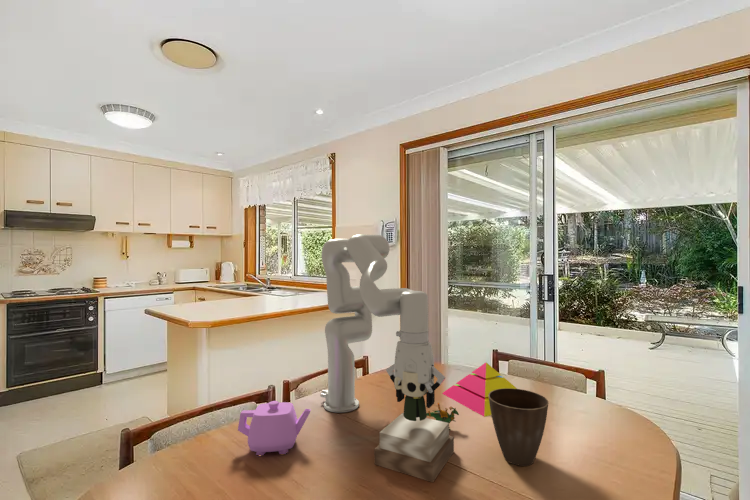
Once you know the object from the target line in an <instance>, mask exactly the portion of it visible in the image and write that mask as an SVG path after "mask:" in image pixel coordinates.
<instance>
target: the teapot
mask: <svg viewBox="0 0 750 500" xmlns="http://www.w3.org/2000/svg"><path fill="white" fill-rule="evenodd" d="M311 410H312V409H311V408H304V411H302V413H301V415H300V416H299V417H298V416H297V412H296V409H295V406H294V404H293V403H292V402H286V401H282V402H279V401H278V400H272V401H269V402H267V403H266V402H265V403H260V404H258V405H257V407H256V408H255V409H251V410H250V409H249V410H248V409H247V410H244V409H243V410H242V411H241V412H240V414H239V419H238V426H237V431H238V432H239V433H242V434H243V435H245V436H246V437H247V446H248V448H249V450H250V451H251V452H256V453H255V456H256V455H261V456H260V457H262V455H263V456H265V455H266V453H271V452H272V453H273V452H278V454H279V455H280V454H285V455H287V454H288V453H289V450H291V449H292V448H293V447H294V445H295V443H296V441H297V438H298V435H299V434H300V433H301V430H302V428H303V426H304V424H305V423H306V420H307V419H308V417H309V415H310V413H311ZM247 418H251V421H250V424H248V423H247ZM287 452H288V453H287ZM286 453H287V454H286ZM264 454H265V455H264Z"/></svg>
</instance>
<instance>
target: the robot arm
mask: <svg viewBox="0 0 750 500" xmlns="http://www.w3.org/2000/svg"><path fill="white" fill-rule="evenodd" d="M389 253H390V245H389V241H388V240H387V238H385V236H382V235H381V234H364V233H363V234H361V233H360V234H355V235H352V236H351V237H349V238H334V239H329V240H326V241H325V243H324V244H323V246H322V249H321V261H322V265H323V268H324V269H323V270H324V272H325V277H326V294H327V295H326V296H327V305H328V310H329V311H330V313H333V314H348V313H350V314H351V313H354V315H353V316H339V317H334V318H331V319H330V320H328V321H327V322H326V324H325V326H324V334H325V335H324V336H325V340H326V346H327V389H322V390H321V393H320V394H319V396H320V397H321V398H322V399H324V398H325V401H324V402H323V407H324V409H325V410H326V411H328V412H332V413H338V414H340V413H341V414H342V413H348V412H352V411H355V410H356V409H358V407H359V406H360V401H359V400H358V399H357V398H356V397H355V395H356V393H355V387H356V386H355V385H356V384H355V355H354V352H353V350H352V349H351V348H350V346H349V344H353V343H360V342H365V341H367V340H369V339H370V338H371V336H372V333H373V319H372V315H374V316H376V317H379V318H380V317H381V318H383V317H390V316H391V317H392V316H399V321H400V323H399V328H400V329H399V330H398V331H396V332H395V335H396V337H399V340H398V341H397V343H396V348H395V353H394V364H392V365H390V366H388V367H387V368H386V369H385V370H386V371H385V372H386V373H387V375H388V376H389V378H390V380H391V382H392V383H393V385H394V387H395V382H394V379H395V377H399V378H400V379H401V380H403V371H405V372H409V373H418V383H420V384H425V386H426V388H427V390H428V391H427V393H426V394H425V396H426V397H425V398H426V399H425V400H426V401H425V406H426V409H430V408H431V407H432V406H433V405H434V404H435V395H436V394H435V391H436V389H438V388H439V387H440V386H441V385H442V383H444V381H445V379H446V376H445V375H444V374H443V373H441V372H440V371H439V370H438V369H437V368H436V367H435V361H434V360H435V359H434V352H433V348H432V343H431V342H429V296H428V293H427V292H425V291H422V290H413V289H411V288H406V287H400V288H399V287H398V288H394V287H393V288H383V289H381V288H379V287H378V286H377V285H376V283H375V282H376V281H377V280H379V279H380V278H382V277H383V276H384V275H385V274H386V272H387V270H388V261H386V259H385V258H387V257H388V256H389ZM343 263H354V264H355V265H356V267H357V269H358V270H359V271H360V273H361V276H360V279H359V280H360V281H359V285H357V286H356V285H355V286H351V279H350V278H351V277H350V273H349V271H348V269H347V268H346V266H345V265H344V264H343ZM425 375H426V376H425ZM433 378H434V379H435V378H437V380H436V382H435V381H434V382H433V380H432V379H433ZM401 380H398V386H401ZM395 397H396V402H397V403H400V402H402V401H403V400H405V394H403V392H402V389H395Z"/></svg>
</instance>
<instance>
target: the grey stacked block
mask: <svg viewBox="0 0 750 500" xmlns="http://www.w3.org/2000/svg"><path fill="white" fill-rule="evenodd" d="M403 413H404V412H402V413H401V414H399V415H398V416H397V417H396V418H394V419H393V421H391V422H390V423H389V424H388V425H387V426H386V427H384V428H383V429H382V430H381V431H379V444H378V445H377V446H376V447H375V448H374V453H373V454H374V457H373V458H374V466H375V465H376V466H379V467H382V468H385V469H388V470H391V471H394V472H398V473H402V474H405V475H409V476H411V477H414V478H418V479H420V480H424V481H426V482H430V483H434V481H436V479H437V478H438V476H439V474H440V473H441V472H442V470H443V468H444V467H445V465H446V464H447V463H448V461H449V459H450V458H451V457H452V456H453V453H454V452H455V442H454V441H455V440H454V439H455V438H454V436H452V435H450V430H449V429H450V428H449V427H450V423H447V422H442V421H438V420H436V419H432V418H430V417H429V418H428V417H426V418H425V419H424V420H421V421H420V418H419V417H418V418H416V421H410V420H408V419H406V418H405V417H404V416H403Z"/></svg>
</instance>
